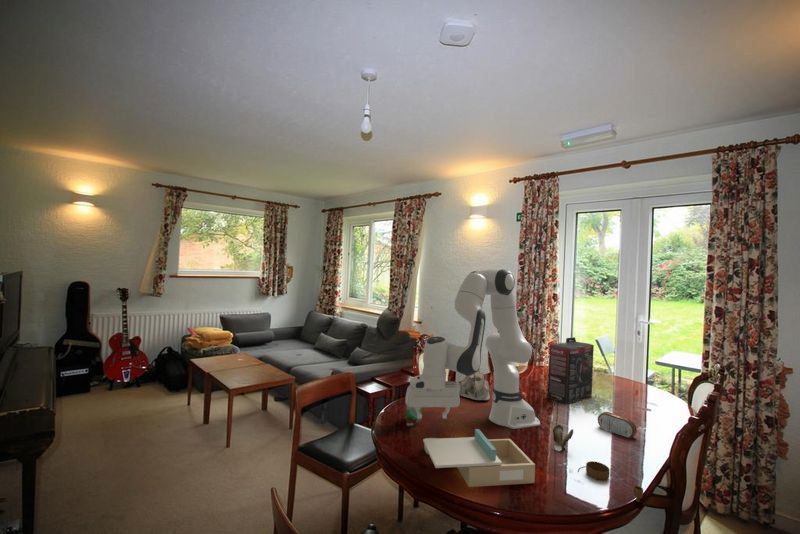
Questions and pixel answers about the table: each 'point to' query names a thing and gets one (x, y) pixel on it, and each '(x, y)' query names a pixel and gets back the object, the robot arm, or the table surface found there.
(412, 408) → the food container
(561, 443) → the eagle figurine
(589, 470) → the place setting
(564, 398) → the headset box
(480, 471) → the box
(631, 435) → the tin
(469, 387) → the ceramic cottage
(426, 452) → the cube
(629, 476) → the table surface
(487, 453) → the lid
